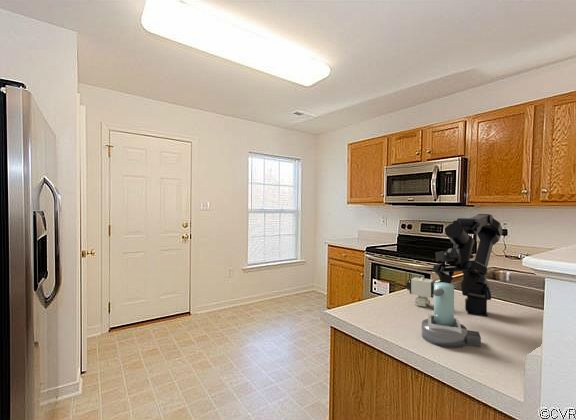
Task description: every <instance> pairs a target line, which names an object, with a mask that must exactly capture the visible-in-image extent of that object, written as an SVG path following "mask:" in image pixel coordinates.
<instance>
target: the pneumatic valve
mask: <svg viewBox="0 0 576 420" xmlns="http://www.w3.org/2000/svg"><path fill="white" fill-rule="evenodd" d="M434 283H436V279H430V278H425V277H424V276H421V277H416V276H412V277H411V278H409V279H407V281H406V290H407V291H409V295H415V296H417V297H416V298H415V299H414V303H415V305H416V306H417V307H421V308H427V307H428V306H430V305H431V300H430V299H429V298H432V299H434V293H433V292H434Z"/></svg>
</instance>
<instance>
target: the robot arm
mask: <svg viewBox="0 0 576 420" xmlns="http://www.w3.org/2000/svg"><path fill="white" fill-rule="evenodd" d="M444 233H445V235H446V237H447V238H448V239H449V240H450V242H451V243H452V244H453V247H451V248H450V247H449V248H448V249H447V250H445V251H443V250H442V251H436V252H435V261H436V263H435V264H433V267H432V271H433V272H434V273H435V274H437V276H438V277H439V281H440V282H443V283H450V284H452V283H451V282H452V280H453V279H454V277H453V275H454V273H457V272H458V273H459V272H462V275H463V278H462V280H461V283H460V284H461V285H460V287H461V293H462V296H464V297H465V296H466V298H464V309H465V311H466V312H467V314H468V315H474V316H482V317H484V316H485V317H488V316H489V314H488V303H487V302H488V301H489V300H490V301H492V296H493V295H492V290H491V288H490V285H489V282H488V279H487V278H486V276H487V275H488V265H489V262H490V258H491V253H492V250H493V246H494V245H496V244H497V243H498V242H499V241H500V239H501V237H502V235H503V227H502V224H501V223H500V221H498V220H497V219H495V218H494V217H493V215H492V214H490V213H478V214H476V215H474V216H472V217H468V218H464V217H458V218H457V219H456V220H453V221H452V223H450V224H448V225H447V226H446V227H445V229H444ZM472 235H477V237H478V239H479V243H478V247H477V249H476V254H475V255H473V254H472V250H473V246H474V244H475V241H474V238H473V237H472ZM474 256H475V257H474ZM472 259H473V260H472ZM438 262H444V263H438Z"/></svg>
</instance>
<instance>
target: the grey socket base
mask: <svg viewBox="0 0 576 420" xmlns="http://www.w3.org/2000/svg"><path fill="white" fill-rule="evenodd" d="M421 337H422V339H423V340H424V341H426V342H427V343H430V344H432V345H434V346H438V347H442V348H447V349H448V348H449V349H459V348H461V349H462V348H465V347H466V346H472V347H479V348H481V346H482V345H481V343H482V342H481V341H482V338H481V337H482V336H481V334H480V331H476V330H470V329H467V327H466V326H465V325H464V324H461V323H460V319H459V318H458V317H454V327H452V326H445V325H438V324H434V314H427V318H426V319H423V320H422V321H421Z"/></svg>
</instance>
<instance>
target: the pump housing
mask: <svg viewBox="0 0 576 420" xmlns="http://www.w3.org/2000/svg"><path fill="white" fill-rule="evenodd" d="M433 293H434V297H433V315H434V324H438V325H445V326H452V327H454V318H455V284H452V283H443V282H438V281H437V282H435V283H434V292H433Z"/></svg>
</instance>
